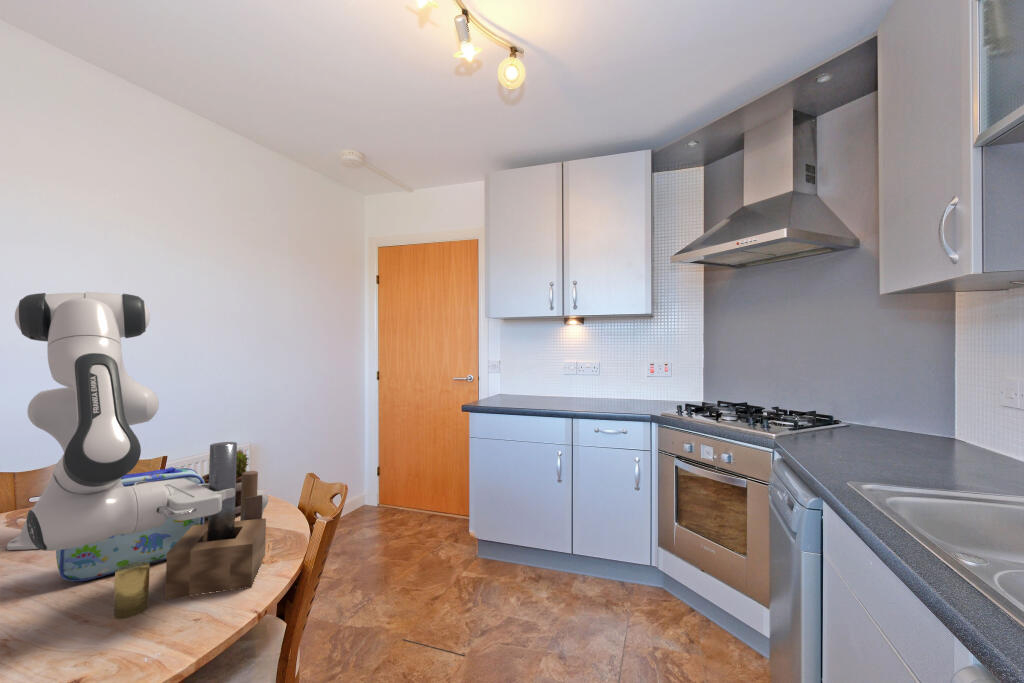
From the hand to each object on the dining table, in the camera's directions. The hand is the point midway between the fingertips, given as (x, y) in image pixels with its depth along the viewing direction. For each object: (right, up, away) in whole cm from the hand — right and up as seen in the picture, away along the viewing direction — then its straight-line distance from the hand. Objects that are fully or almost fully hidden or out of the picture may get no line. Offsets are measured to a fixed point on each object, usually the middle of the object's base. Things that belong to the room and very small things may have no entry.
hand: (226, 489), depth 99 cm
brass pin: (-9, -18, -15) cm, 25 cm away
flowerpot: (-23, -19, +34) cm, 46 cm away
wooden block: (-3, -19, +13) cm, 23 cm away
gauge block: (-1, -19, -1) cm, 19 cm away
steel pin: (-1, -14, -1) cm, 14 cm away
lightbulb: (-8, -19, +24) cm, 32 cm away
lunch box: (-24, -19, +4) cm, 31 cm away
